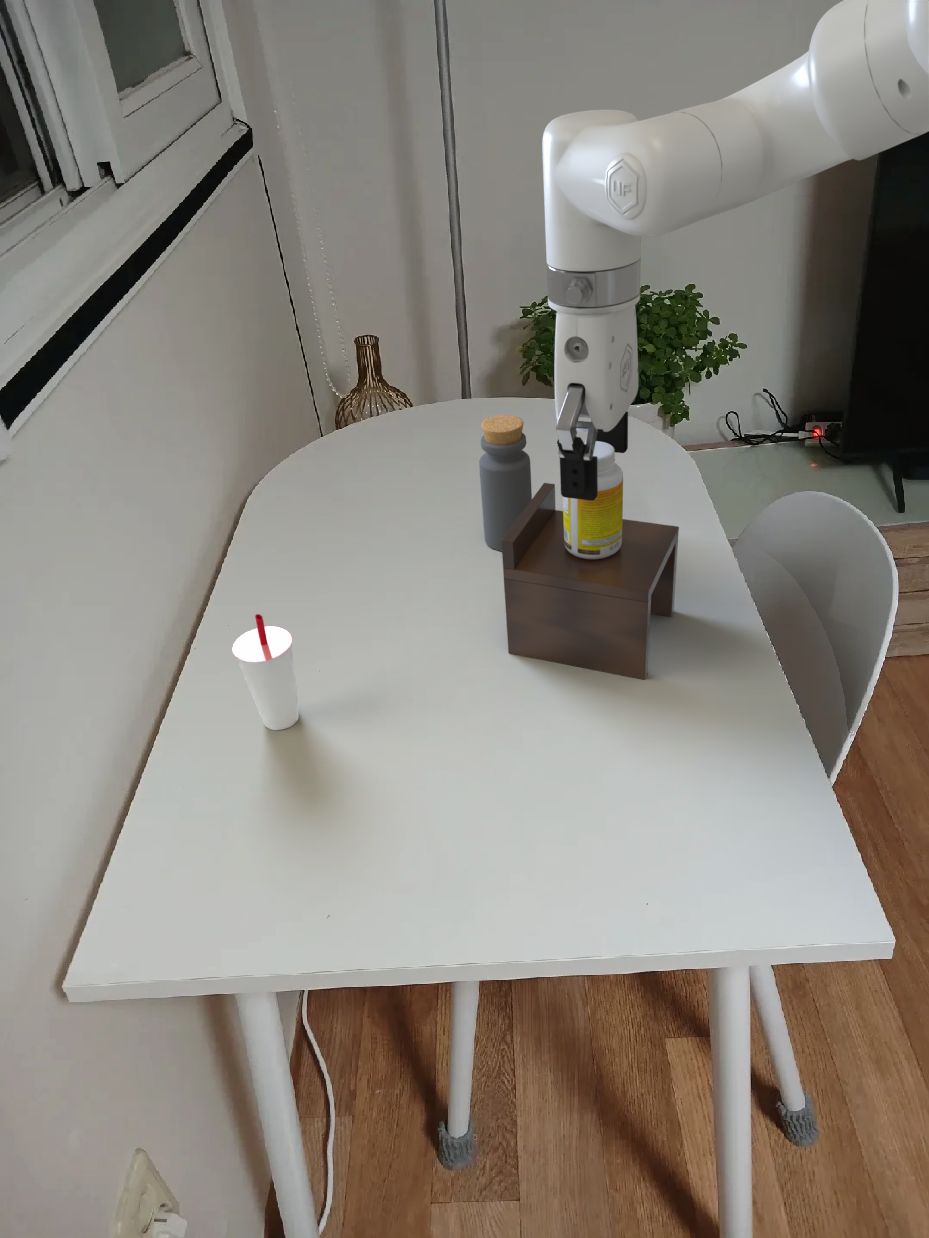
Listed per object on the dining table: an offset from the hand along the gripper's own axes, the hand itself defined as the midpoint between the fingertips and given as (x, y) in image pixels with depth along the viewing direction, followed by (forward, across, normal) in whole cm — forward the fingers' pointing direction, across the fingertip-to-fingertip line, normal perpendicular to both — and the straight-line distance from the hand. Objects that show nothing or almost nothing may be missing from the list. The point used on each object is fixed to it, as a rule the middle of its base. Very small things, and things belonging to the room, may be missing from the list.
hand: (595, 473), depth 87 cm
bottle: (+18, +15, +16) cm, 28 cm away
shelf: (+18, 0, +1) cm, 18 cm away
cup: (+18, -22, +25) cm, 38 cm away
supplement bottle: (+8, 0, 0) cm, 8 cm away
